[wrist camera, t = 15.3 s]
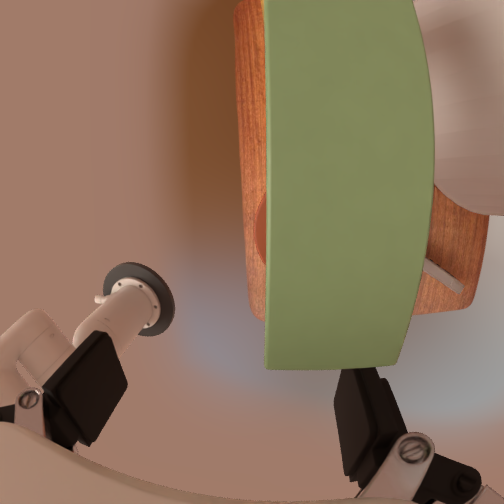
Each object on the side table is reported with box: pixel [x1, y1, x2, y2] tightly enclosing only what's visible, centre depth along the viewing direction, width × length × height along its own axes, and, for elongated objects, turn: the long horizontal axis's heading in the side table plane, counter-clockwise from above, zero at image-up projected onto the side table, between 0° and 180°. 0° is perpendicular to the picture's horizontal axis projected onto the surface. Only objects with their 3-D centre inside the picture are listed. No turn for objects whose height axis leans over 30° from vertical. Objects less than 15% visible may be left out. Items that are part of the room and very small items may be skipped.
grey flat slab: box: [423, 257, 464, 294], centre depth 42 cm, size 20×2×8 cm, turn 65°
